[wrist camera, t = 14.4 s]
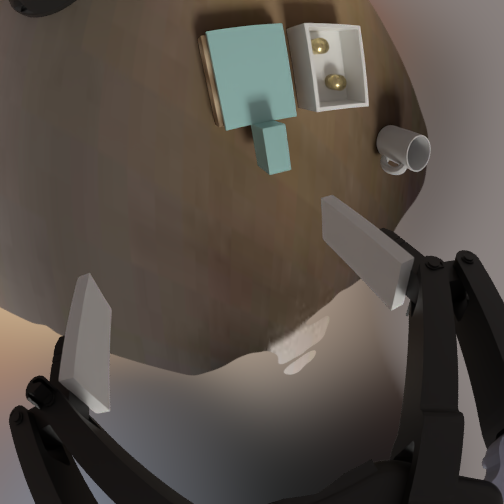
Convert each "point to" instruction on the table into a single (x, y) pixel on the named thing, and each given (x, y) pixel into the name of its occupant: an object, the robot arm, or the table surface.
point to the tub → (328, 66)
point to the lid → (255, 87)
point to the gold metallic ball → (319, 46)
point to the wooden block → (210, 80)
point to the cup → (402, 149)
